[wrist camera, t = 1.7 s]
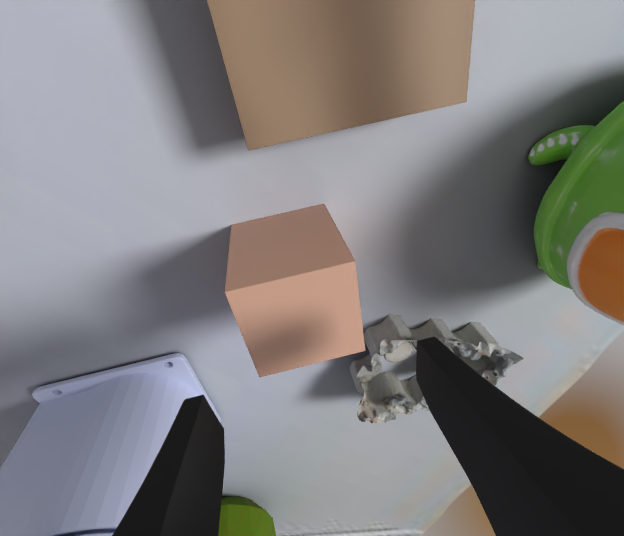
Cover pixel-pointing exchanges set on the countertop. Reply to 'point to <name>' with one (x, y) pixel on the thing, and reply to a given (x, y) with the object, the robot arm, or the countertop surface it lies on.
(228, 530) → the apple
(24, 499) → the robot arm
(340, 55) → the walnut block
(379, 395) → the egg carton
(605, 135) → the turtle holder
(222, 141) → the countertop surface
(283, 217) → the terracotta block
